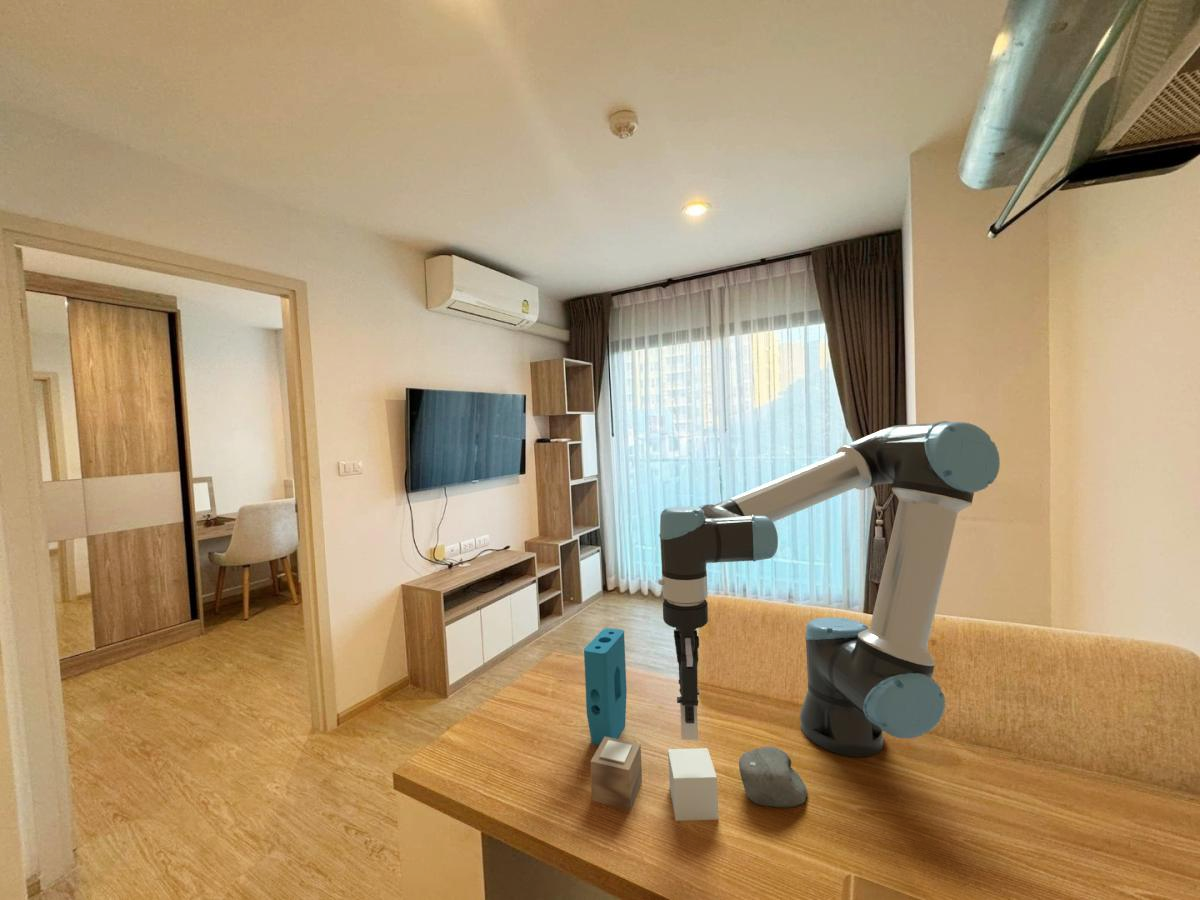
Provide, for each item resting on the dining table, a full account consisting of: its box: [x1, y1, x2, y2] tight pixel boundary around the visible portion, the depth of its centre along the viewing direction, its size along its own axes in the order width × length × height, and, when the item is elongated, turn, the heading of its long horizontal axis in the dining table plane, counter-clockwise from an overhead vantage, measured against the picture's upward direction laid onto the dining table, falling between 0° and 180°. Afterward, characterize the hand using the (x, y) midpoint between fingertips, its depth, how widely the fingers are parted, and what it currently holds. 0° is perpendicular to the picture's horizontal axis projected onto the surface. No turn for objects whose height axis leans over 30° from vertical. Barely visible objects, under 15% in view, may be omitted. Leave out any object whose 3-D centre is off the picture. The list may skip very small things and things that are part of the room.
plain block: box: [667, 747, 720, 822], centre depth 77 cm, size 7×7×7 cm
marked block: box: [590, 737, 643, 812], centre depth 80 cm, size 7×7×7 cm
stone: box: [738, 745, 809, 808], centre depth 78 cm, size 9×9×10 cm
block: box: [583, 627, 628, 746], centre depth 96 cm, size 12×5×20 cm, turn 157°
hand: (689, 736), depth 77 cm, fingers closed
